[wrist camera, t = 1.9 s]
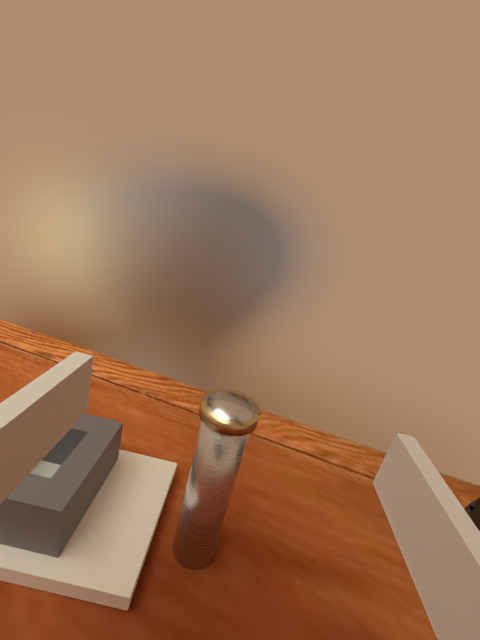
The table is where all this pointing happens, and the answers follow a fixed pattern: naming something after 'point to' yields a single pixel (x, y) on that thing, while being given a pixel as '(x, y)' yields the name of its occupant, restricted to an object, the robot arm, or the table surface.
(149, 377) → the table surface
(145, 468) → the board
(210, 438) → the steel pin
